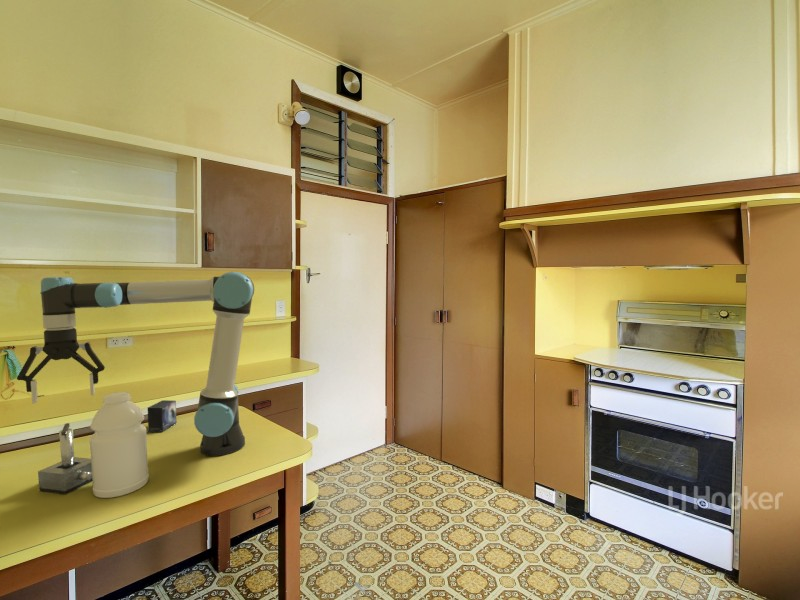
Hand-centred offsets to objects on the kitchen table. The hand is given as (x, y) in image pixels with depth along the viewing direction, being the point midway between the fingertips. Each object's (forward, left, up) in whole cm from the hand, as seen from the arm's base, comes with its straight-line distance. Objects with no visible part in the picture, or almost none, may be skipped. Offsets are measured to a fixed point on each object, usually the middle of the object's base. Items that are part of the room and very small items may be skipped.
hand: (64, 398), depth 122 cm
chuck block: (-1, 0, -27) cm, 27 cm away
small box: (+10, -46, -27) cm, 54 cm away
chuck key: (0, 0, -26) cm, 26 cm away
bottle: (-17, -2, -27) cm, 32 cm away
